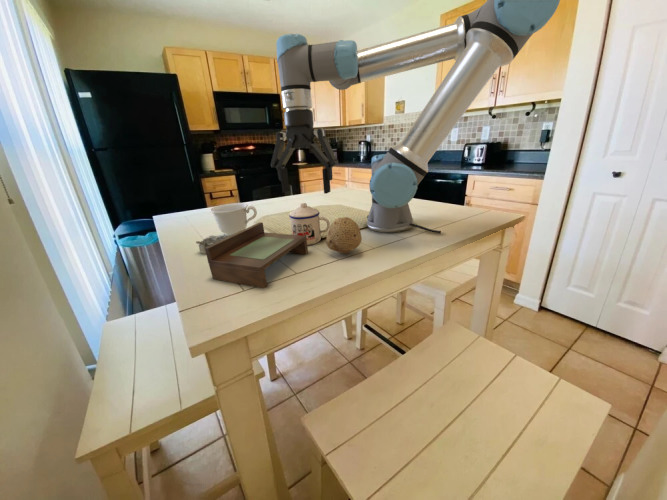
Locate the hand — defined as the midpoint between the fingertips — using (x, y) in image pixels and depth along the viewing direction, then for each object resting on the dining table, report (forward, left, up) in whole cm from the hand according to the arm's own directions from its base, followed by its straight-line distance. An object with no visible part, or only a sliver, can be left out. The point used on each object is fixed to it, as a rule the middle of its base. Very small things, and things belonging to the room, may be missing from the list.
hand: (306, 192), depth 79 cm
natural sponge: (-14, +7, -15) cm, 22 cm away
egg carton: (+25, +13, -15) cm, 32 cm away
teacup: (+28, +1, -15) cm, 32 cm away
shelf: (+4, +19, -15) cm, 24 cm away
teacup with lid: (0, 0, -15) cm, 15 cm away
